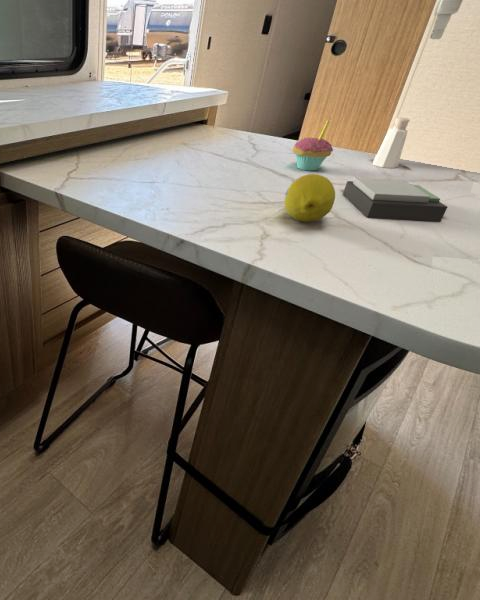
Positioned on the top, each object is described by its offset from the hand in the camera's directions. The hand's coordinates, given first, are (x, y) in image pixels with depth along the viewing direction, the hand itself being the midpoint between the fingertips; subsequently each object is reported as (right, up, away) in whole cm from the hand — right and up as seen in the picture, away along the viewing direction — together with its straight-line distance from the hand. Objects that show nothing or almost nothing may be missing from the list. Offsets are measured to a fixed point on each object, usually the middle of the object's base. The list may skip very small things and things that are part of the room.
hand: (434, 39), depth 96 cm
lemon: (-42, -46, -21) cm, 66 cm away
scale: (-23, -42, -16) cm, 51 cm away
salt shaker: (-5, -27, +9) cm, 28 cm away
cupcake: (-26, -28, +7) cm, 39 cm away
